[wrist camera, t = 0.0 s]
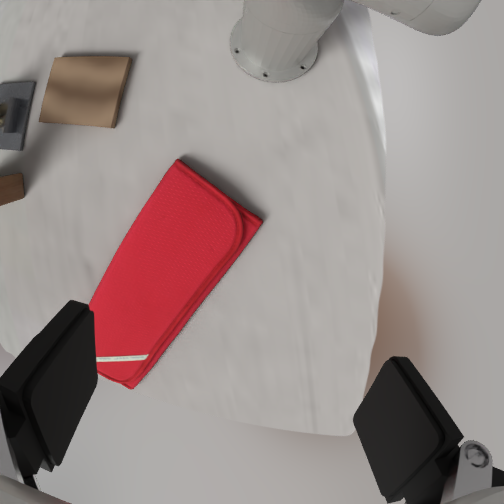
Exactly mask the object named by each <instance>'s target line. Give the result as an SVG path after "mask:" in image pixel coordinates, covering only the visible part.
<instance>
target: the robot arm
mask: <svg viewBox="0 0 504 504" xmlns="http://www.w3.org/2000/svg"><path fill="white" fill-rule="evenodd" d="M351 1H354V2H356V3H359V4H361V5H363V6H366V7H368V8H370V9H373V10H375V11H378V12H380V13H382V14H384V15H386V16H388V17H390V18H392V19H394V20H396V21H399V22H401V23H403V24H405V25H407V26H409V27H411V28H413V29H415V30H417V31H420V32H422V33H425V34H428V35H434V36H441V35H446V34H449V33H451V32H454V31H455V30H457V29H458V28H460V27H461V26H462V25H463V24H464V23H465V22H466V21H467V20H468V18H469V17H470V16H471V15H472V14H473V12H474V11H475V9H476V8H477V6H478V5H479V3H480V1H481V0H351ZM343 2H344V0H244V5H243V17H242V18H241V19H240V20H239V21H238V22H237V23H236V25H235V26H234V28H233V30H232V33H231V37H230V48H231V53H232V55H233V58H234V60H235V61H236V63H237V64H238V66H239V67H240V68H241V69H242V70H243V71H245V72H246V73H248V74H249V75H250V76H253V77H255V78H257V79H259V80H263V81H267V82H286V81H290V80H293V79H296V78H298V77H300V76H301V75H303V74H304V73H305V72H306V71H307V70H309V68H310V67H311V66H312V65H313V63H314V61H315V59H316V56H317V52H318V43H317V41H318V40H319V38H320V37H321V36H322V35H323V33H324V32H325V31H326V30H327V29H328V27H329V26H330V25H331V24H332V22H333V21H334V20H335V19H336V17H337V16H338V15H339V13H340V11H341V9H342V5H343ZM236 51H238V52H239V53H235V52H236ZM301 67H303V68H304V69H301ZM264 75H267V77H264ZM97 380H98V374H97V362H96V346H95V321H94V312H93V311H91V310H90V308H89V305H88V304H84V303H81V302H77V301H74V300H70V301H69V302H68V303H67V304H66V305H65V306H64V307H63V308H62V309H61V310H60V311H59V312H58V313H57V314H56V316H55V317H54V318H53V319H52V320H51V321H50V322H49V323H48V324H47V325H46V326H45V328H44V329H43V330H42V331H41V332H40V333H39V334H37V335H36V336H35V337H34V338H33V339H32V340H31V342H30V343H29V344H28V345H27V346H26V347H25V348H24V350H23V351H22V352H21V353H20V354H19V355H18V357H17V358H16V359H15V360H14V362H13V363H12V364H11V365H10V366H9V368H8V369H7V370H6V371H5V372H4V374H3V375H2V376H1V377H0V504H70V503H68V502H65V501H63V500H60V499H58V498H55V497H53V496H51V495H49V494H46V493H44V492H42V491H41V488H40V486H39V484H38V481H37V478H36V476H35V474H37V472H38V470H39V468H40V467H41V468H43V469H45V470H47V471H49V472H52V471H53V468H54V466H55V465H56V466H59V465H60V464H61V463H62V460H63V458H64V456H65V453H66V451H67V449H68V446H69V444H70V442H71V439H72V437H73V435H74V432H75V430H76V428H77V426H78V424H79V421H80V419H81V417H82V415H83V413H84V411H85V409H86V407H87V404H88V402H89V400H90V398H91V396H92V394H93V392H94V390H95V388H96V385H97ZM353 423H354V426H355V428H356V430H357V433H358V436H359V438H360V440H361V443H362V446H363V448H364V451H365V453H366V456H367V459H368V461H369V464H370V466H371V469H372V471H373V474H374V476H375V479H376V482H377V485H378V487H379V490H380V492H381V494H382V495H383V496H384V497H385V498H386V501H387V503H392V502H396V501H400V500H401V499H403V497H404V498H405V500H406V502H405V504H504V471H502V470H500V469H497V468H495V467H493V466H492V456H491V454H490V452H489V450H488V449H487V448H486V447H485V446H484V445H483V444H481V443H479V442H477V441H474V440H470V441H469V440H468V441H466V442H464V443H463V444H462V445H461V447H460V448H459V446H458V443H459V442H460V441H461V440H462V439H463V437H464V436H463V435H462V433H461V432H460V430H459V429H458V427H457V426H456V424H455V423H454V421H453V420H452V418H451V417H450V415H449V414H448V413H447V411H446V410H445V408H444V407H443V405H442V404H441V402H440V401H439V400H438V398H437V397H436V395H435V394H434V393H433V391H432V390H431V389H430V387H429V386H428V384H427V383H426V382H425V380H424V379H423V377H422V376H421V375H420V373H419V372H418V370H417V369H416V368H415V367H414V365H413V364H412V362H411V361H410V360H409V359H408V358H407V357H396V356H393V357H391V358H390V359H389V360H387V361H386V362H385V363H384V364H383V366H382V368H381V370H380V372H379V374H378V375H377V377H376V379H375V381H374V383H373V384H372V386H371V388H370V389H369V391H368V393H367V395H366V396H365V398H364V400H363V401H362V403H361V404H360V406H359V408H358V409H357V411H356V412H355V414H354V417H353Z"/></svg>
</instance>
